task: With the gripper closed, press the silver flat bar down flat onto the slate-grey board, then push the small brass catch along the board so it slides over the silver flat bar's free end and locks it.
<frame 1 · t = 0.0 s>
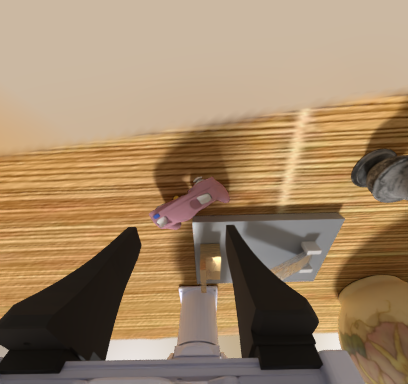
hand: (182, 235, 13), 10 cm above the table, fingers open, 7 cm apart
grey stone finial: (371, 168, 21), on the table
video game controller: (191, 195, 23), on the table
base board: (258, 246, 28), on the table
silver flat bar: (280, 272, 24), point 5 cm above the table, hinge at 25.0°
catch: (210, 267, 25), point 4 cm above the table, slide at 0.0 cm
pitcher: (369, 288, 35), on the table
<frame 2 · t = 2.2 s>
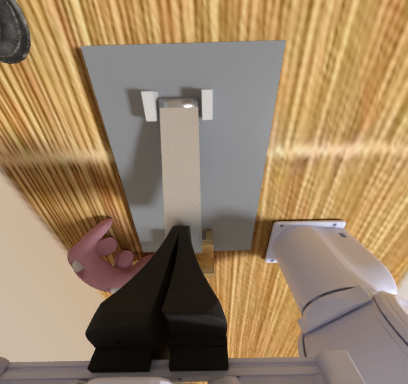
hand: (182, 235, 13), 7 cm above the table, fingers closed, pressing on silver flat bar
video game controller: (123, 242, 24), on the table
base board: (188, 174, 19), on the table
silver flat bar: (181, 178, 13), point 5 cm above the table, hinge at 24.8°, touching gripper
catch: (190, 252, 19), point 4 cm above the table, slide at 0.0 cm
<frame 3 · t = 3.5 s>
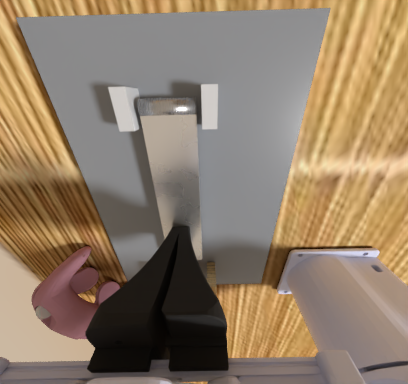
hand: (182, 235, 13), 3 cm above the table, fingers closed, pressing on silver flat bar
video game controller: (107, 272, 20), on the table
base board: (184, 195, 15), on the table
silver flat bar: (179, 198, 12), point 2 cm above the table, hinge at -0.3°, touching gripper
catch: (187, 293, 15), point 4 cm above the table, slide at 0.0 cm
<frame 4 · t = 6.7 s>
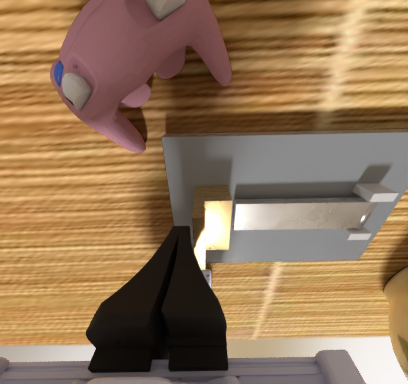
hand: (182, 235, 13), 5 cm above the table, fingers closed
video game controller: (160, 85, 13), on the table
base board: (277, 200, 17), on the table
silver flat bar: (301, 214, 15), point 2 cm above the table, hinge at -0.4°
catch: (212, 225, 14), point 4 cm above the table, slide at 1.4 cm, touching gripper
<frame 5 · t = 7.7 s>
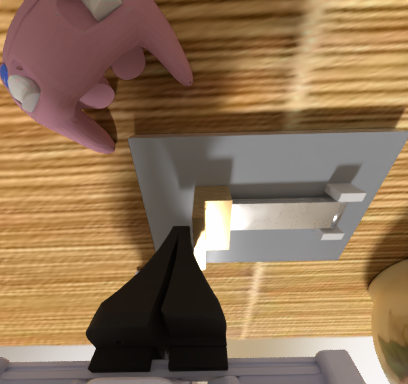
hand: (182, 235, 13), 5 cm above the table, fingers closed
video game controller: (125, 86, 13), on the table
base board: (252, 200, 17), on the table
silver flat bar: (273, 214, 15), point 2 cm above the table, hinge at -0.4°
catch: (212, 225, 14), point 4 cm above the table, slide at 4.0 cm, touching gripper
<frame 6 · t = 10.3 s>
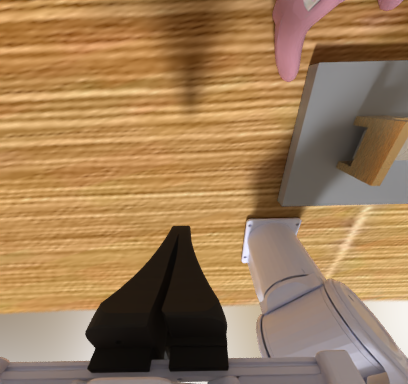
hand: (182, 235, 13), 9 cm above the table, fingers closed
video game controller: (319, 14, 14), on the table
base board: (387, 139, 19), on the table
catch: (379, 149, 15), point 4 cm above the table, slide at 4.0 cm
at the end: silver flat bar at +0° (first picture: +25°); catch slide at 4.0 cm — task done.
